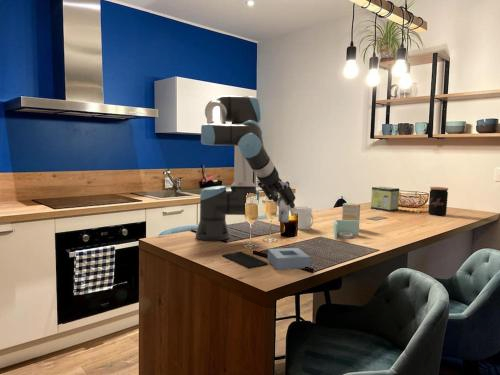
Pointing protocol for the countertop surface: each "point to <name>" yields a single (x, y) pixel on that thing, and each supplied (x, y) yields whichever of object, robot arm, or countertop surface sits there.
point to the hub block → (288, 258)
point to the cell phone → (245, 260)
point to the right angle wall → (345, 228)
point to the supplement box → (351, 212)
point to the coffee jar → (438, 201)
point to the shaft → (283, 210)
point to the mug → (304, 217)
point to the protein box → (385, 199)
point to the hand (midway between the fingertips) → (289, 210)
